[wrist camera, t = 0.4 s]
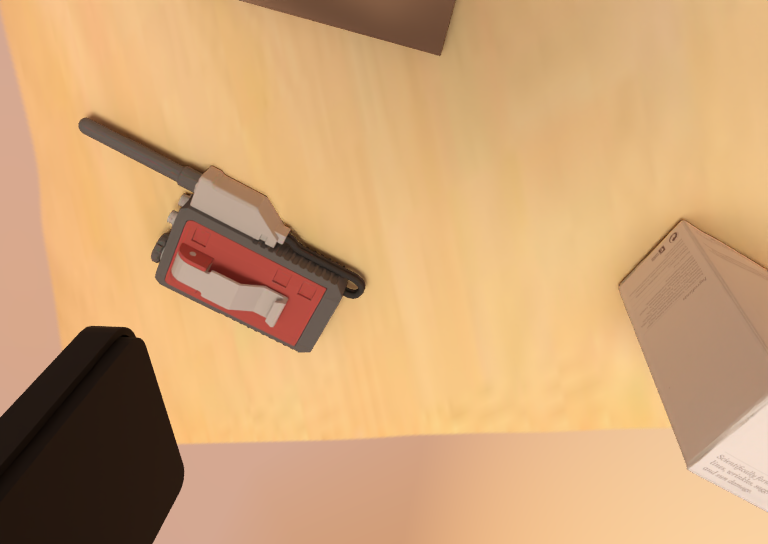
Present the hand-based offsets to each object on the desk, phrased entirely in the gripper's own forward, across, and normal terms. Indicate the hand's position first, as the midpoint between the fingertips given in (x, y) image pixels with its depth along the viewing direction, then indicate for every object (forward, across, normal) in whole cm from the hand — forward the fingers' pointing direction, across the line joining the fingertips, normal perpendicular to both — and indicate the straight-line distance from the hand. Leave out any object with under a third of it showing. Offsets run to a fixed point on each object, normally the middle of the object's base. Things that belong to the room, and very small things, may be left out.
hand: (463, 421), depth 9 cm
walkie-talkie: (+29, +17, +12) cm, 36 cm away
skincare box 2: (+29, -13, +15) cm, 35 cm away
